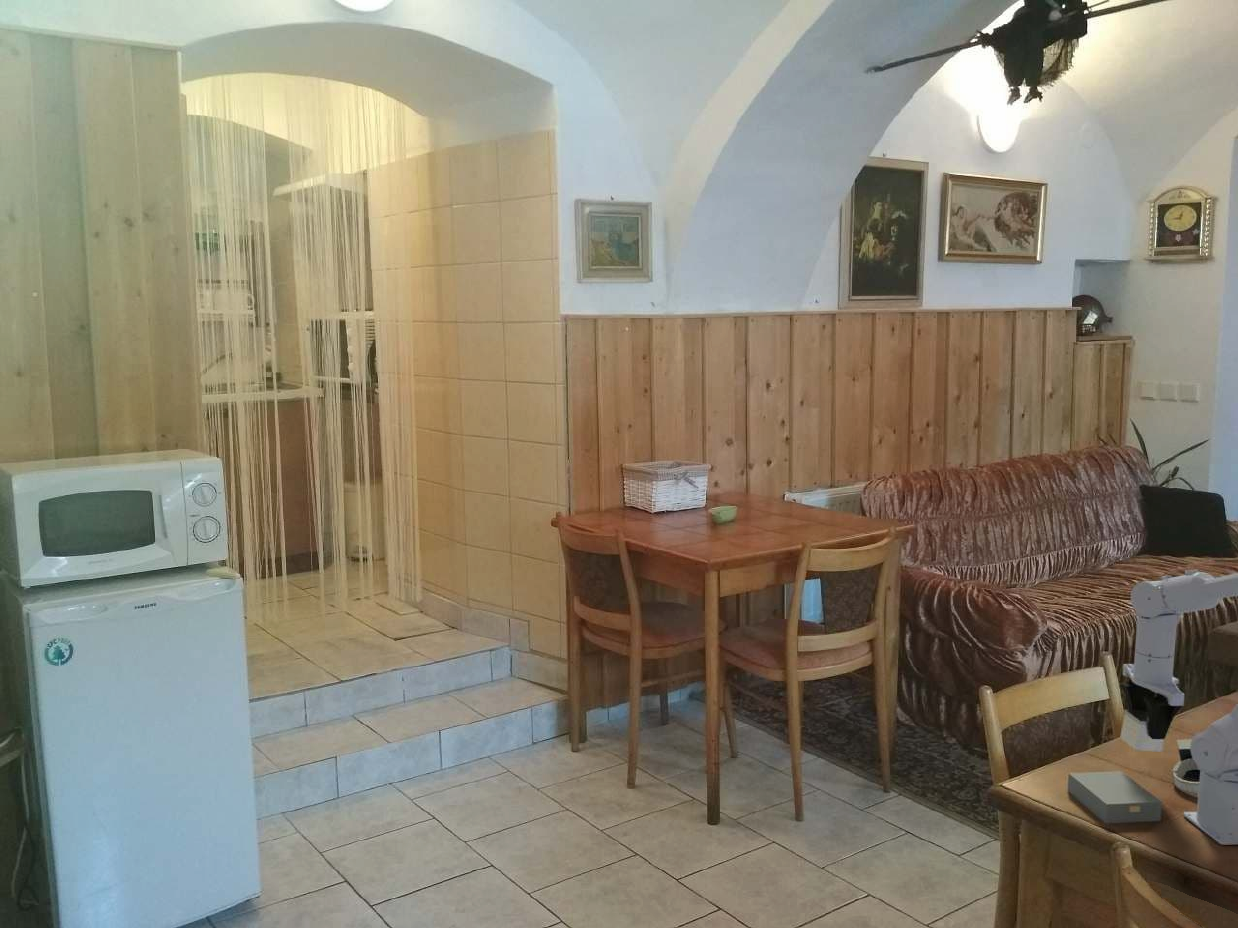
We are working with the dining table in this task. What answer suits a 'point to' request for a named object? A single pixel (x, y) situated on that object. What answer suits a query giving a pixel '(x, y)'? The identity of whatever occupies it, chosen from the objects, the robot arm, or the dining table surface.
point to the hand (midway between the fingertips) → (1148, 731)
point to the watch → (1186, 769)
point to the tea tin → (1139, 732)
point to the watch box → (1114, 797)
